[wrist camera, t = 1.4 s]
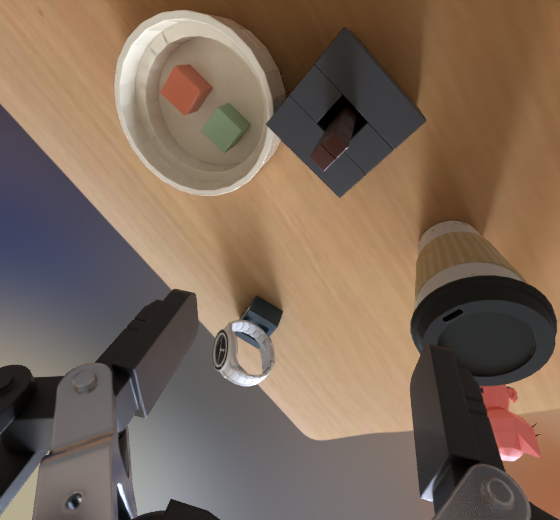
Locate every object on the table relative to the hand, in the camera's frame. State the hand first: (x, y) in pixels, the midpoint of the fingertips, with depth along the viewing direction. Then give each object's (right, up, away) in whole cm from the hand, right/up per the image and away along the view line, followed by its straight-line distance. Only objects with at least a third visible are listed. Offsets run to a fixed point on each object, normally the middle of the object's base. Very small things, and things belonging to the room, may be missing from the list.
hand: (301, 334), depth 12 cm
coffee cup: (+18, +4, +25) cm, 31 cm away
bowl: (-7, +18, +23) cm, 31 cm away
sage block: (-6, +17, +23) cm, 29 cm away
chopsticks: (+6, +17, +21) cm, 27 cm away
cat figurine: (+26, -12, +33) cm, 44 cm away
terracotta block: (-9, +20, +22) cm, 31 cm away
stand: (+6, +17, +21) cm, 27 cm away
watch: (-4, -5, +37) cm, 38 cm away
